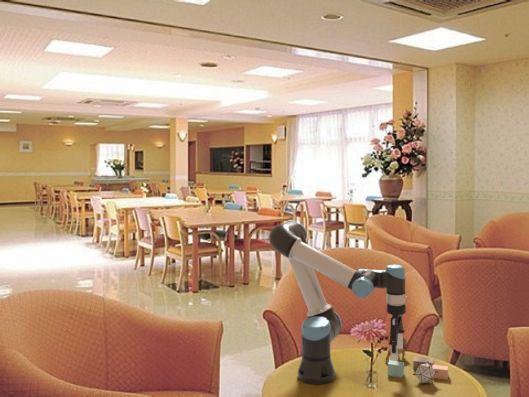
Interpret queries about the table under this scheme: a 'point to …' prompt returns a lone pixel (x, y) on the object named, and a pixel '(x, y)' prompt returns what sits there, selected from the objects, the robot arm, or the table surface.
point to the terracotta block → (441, 371)
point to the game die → (425, 373)
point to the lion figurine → (398, 351)
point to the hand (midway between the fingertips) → (397, 354)
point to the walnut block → (422, 361)
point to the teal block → (395, 368)
